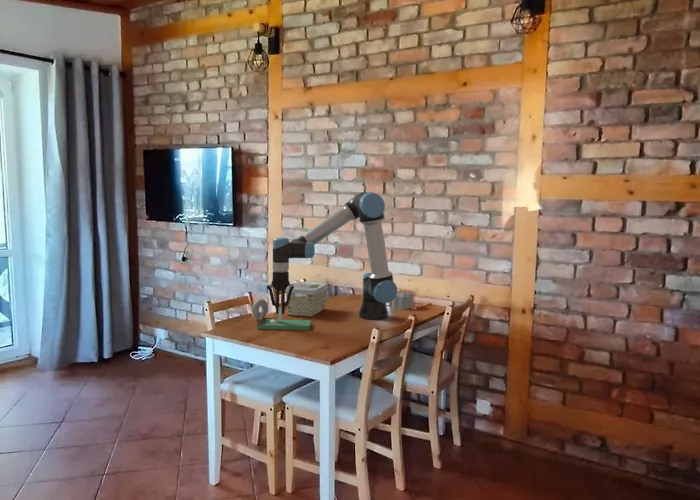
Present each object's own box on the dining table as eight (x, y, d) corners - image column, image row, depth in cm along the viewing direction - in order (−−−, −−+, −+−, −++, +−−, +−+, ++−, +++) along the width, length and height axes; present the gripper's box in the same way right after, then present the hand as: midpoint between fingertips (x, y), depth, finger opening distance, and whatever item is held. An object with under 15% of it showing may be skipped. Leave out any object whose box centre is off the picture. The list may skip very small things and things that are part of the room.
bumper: (264, 319, 277) (264, 314, 277) (260, 325, 266) (260, 319, 265) (261, 319, 277) (261, 314, 277) (257, 325, 266) (257, 319, 265)
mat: (311, 324, 278) (311, 320, 278) (309, 330, 266) (309, 326, 266) (261, 323, 278) (261, 319, 277) (257, 329, 266) (257, 325, 266)
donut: (255, 321, 282) (255, 301, 281) (250, 320, 284) (250, 300, 283) (269, 317, 290) (269, 298, 289) (264, 316, 292) (264, 297, 291)
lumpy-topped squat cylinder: (389, 307, 321) (390, 292, 320) (400, 304, 332) (400, 289, 331) (406, 310, 315) (407, 294, 314) (416, 306, 326) (417, 291, 325)
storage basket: (300, 306, 318) (300, 280, 317) (328, 309, 314) (328, 282, 312) (284, 315, 295) (284, 287, 294) (313, 318, 291) (314, 289, 289)
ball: (272, 318, 274) (268, 323, 273) (272, 318, 270) (268, 323, 270) (277, 322, 274) (273, 327, 273) (277, 322, 270) (273, 327, 270)
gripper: (265, 271, 265) (265, 322, 268) (293, 272, 265) (293, 322, 268) (267, 269, 273) (267, 318, 275) (295, 270, 273) (294, 318, 275)
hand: (280, 320), depth 272 cm, fingers closed
